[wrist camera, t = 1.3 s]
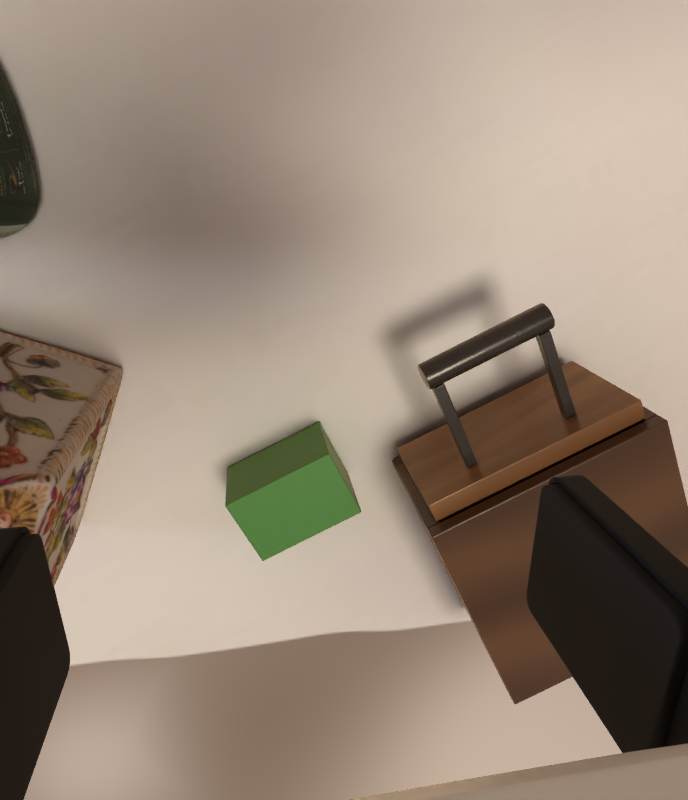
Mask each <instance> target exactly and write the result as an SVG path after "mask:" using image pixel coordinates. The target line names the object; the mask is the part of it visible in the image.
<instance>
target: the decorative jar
mask: <svg viewBox="0 0 688 800" xmlns="http://www.w3.org/2000/svg"><path fill="white" fill-rule="evenodd" d="M121 379H122V369H120V368H119V367H116V366H113V365H111V364H106V363H103V362H101V361H97V360H93V359H90V358H88V357H84V356H81V355H79V354H75V353H72V352H69V351H66V350H62V349H59V348H55V347H52V346H49V345H45V344H41V343H39V342H35V341H31V340H28V339H24V338H21V337H17V336H14V335H11V334H7V333H4V332H1V331H0V528H11V527H22V526H25V527H27V528H28V529H29V531H30V532H31V534H39V535H40V536H41V538H42V541H43V545H44V549H45V553H46V557H47V561H48V565H49V569H50V573H51V577H52V582H53V586H54V585H55V583H56V581H57V579H58V577H59V574H60V572H61V570H62V568H63V565H64V563H65V560H66V558H67V556H68V554H69V551H70V549H71V546H72V544H73V542H74V539H75V537H76V533H77V531H78V527H79V524H80V521H81V518H82V516H83V512H84V508H85V504H86V501H87V497H88V493H89V490H90V487H91V484H92V481H93V477H94V473H95V470H96V467H97V464H98V460H99V458H100V454H101V450H102V446H103V443H104V440H105V436H106V433H107V429H108V425H109V422H110V418H111V414H112V411H113V407H114V404H115V400H116V397H117V393H118V390H119V386H120V383H121Z"/></svg>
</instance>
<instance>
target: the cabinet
mask: <svg viewBox="0 0 688 800" xmlns="http://www.w3.org/2000/svg"><path fill="white" fill-rule="evenodd" d="M642 407H643V406H642ZM643 410H644V414H645V419H643V420H641V421H639V422H637V423H635V424H633V425H631V426H629V427H627V428H625V429H623V430H621V432H622V433H620V434H618V435H616V436H614V437H612V438H610V439H608V440H606V441H604V442H602V443H600V444H598V445H596V446H594V447H592V448H590V449H588V450H586V451H584V452H582V453H580V454H578V455H576V456H574V457H572V458H570V459H568V460H566V461H564V462H562V463H560V464H558V465H556V466H554V467H552V468H550V469H548V470H546V471H544V472H541V473H539V474H537V475H535V476H533V477H531V478H529V479H527V480H525V481H523V482H521V483H519V484H517V485H515V486H513V487H511V488H509V489H507V490H505V491H503V492H501V493H499V494H497V495H495V496H493V497H491V498H489V499H487V500H485V501H483V502H481V503H479V504H477V505H475V506H473V507H471V508H469V509H467V510H465V511H463V512H461V513H459V514H457V515H455V516H453V517H451V518H449V519H447V520H445V521H443V519H441V520H439V521H437V522H436V521H435V519H434V517H433V515H432V514H431V512H430V510H429V508H428V506H427V505H426V503H425V501H424V499H423V497H422V496H421V494H420V492H419V490H418V488H417V486H416V485H415V483H414V481H413V479H412V477H411V476H410V474H409V472H408V470H407V468H406V467H405V465H404V463H403V461H402V459H401V457H399V458H397V459H395V460H393V461H392V462H393V464H394V466H395V468H396V470H397V472H398V474H399V476H400V478H401V480H402V482H403V484H404V486H405V488H406V490H407V492H408V494H409V496H410V498H411V500H412V502H413V504H414V506H415V508H416V510H417V512H418V514H419V516H420V518H421V520H422V522H423V524H424V526H425V528H426V530H427V532H428V534H429V536H430V538H431V540H432V542H433V544H434V546H435V548H436V550H437V552H438V554H439V556H440V558H441V560H442V562H443V564H444V566H445V568H446V570H447V572H448V574H449V576H450V578H451V580H452V582H453V584H454V586H455V588H456V590H457V592H458V594H459V596H460V598H461V600H462V602H463V604H464V606H465V608H466V610H467V612H468V614H469V616H470V618H471V620H472V622H473V624H474V626H475V628H476V630H477V632H478V634H479V636H480V638H481V640H482V642H483V644H484V646H485V648H486V650H487V651H488V653H489V655H490V657H491V659H492V661H493V663H494V665H495V667H496V669H497V671H498V673H499V675H500V677H501V679H502V681H503V683H504V685H505V687H506V689H507V691H508V692H509V695H510V697H511V699H512V700H513V702H514V704H517V703H519V702H521V701H523V700H525V699H527V698H529V697H532V696H534V695H536V694H537V693H539V692H542V691H544V690H546V689H548V688H550V687H552V686H554V685H556V684H558V683H560V682H562V681H564V680H566V679H568V678H571V677H573V676H572V675H571V673H570V672H569V670H568V669H567V667H566V666H565V664H564V662H563V661H562V659H561V658H560V656H559V655H558V653H557V652H556V650H555V649H554V647H553V646H552V644H551V643H550V641H549V640H548V638H547V636H546V635H545V633H544V632H543V630H542V629H541V627H540V626H539V624H538V623H537V621H536V620H535V618H534V617H533V615H532V613H531V612H530V610H529V607H528V603H527V597H526V594H527V586H528V579H529V572H530V565H531V557H532V550H533V543H534V536H535V529H536V522H537V515H538V508H539V501H540V494H541V490H542V488H543V486H545V485H548V483H549V481H550V480H551V478H553V477H560V476H570V475H583V476H585V477H586V478H587V479H589V480H590V481H591V482H592V483H593V484H594V485H595V486H596V487H598V488H599V489H600V490H601V491H602V492H603V493H604V494H605V495H607V496H608V497H609V498H610V499H611V500H612V501H613V502H614V503H616V504H617V505H618V506H619V507H620V508H621V509H622V510H623V511H625V512H626V513H627V514H628V515H629V516H630V517H631V518H632V519H634V520H635V521H636V522H637V523H638V524H639V525H640V526H641V527H643V528H644V529H645V530H646V531H647V532H648V533H649V534H650V535H652V536H653V537H654V538H655V539H656V540H657V541H658V542H659V543H661V544H662V545H663V546H664V547H665V548H666V549H667V550H669V551H670V552H671V553H672V554H673V555H674V556H675V557H676V558H678V559H679V560H680V561H681V562H682V563H683V564H684V565H685V566H687V567H688V506H687V502H686V497H685V493H684V489H683V485H682V481H681V476H680V472H679V468H678V464H677V460H676V455H675V451H674V447H673V443H672V439H671V434H670V430H669V426H668V422H667V420H665V419H664V418H662V417H660V416H658V415H657V414H655V413H653V412H652V411H650V410H648V409H647V408H645V407H643Z"/></svg>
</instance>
